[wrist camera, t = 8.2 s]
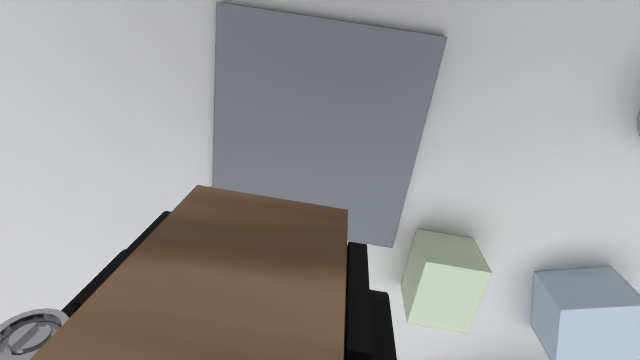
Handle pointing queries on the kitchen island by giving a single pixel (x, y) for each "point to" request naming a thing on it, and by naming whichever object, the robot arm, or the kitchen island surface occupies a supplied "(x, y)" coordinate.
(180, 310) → the walnut block
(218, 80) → the slate mat
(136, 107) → the kitchen island surface
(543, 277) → the dusty blue cube
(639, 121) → the grey rounded piece
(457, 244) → the sage block
